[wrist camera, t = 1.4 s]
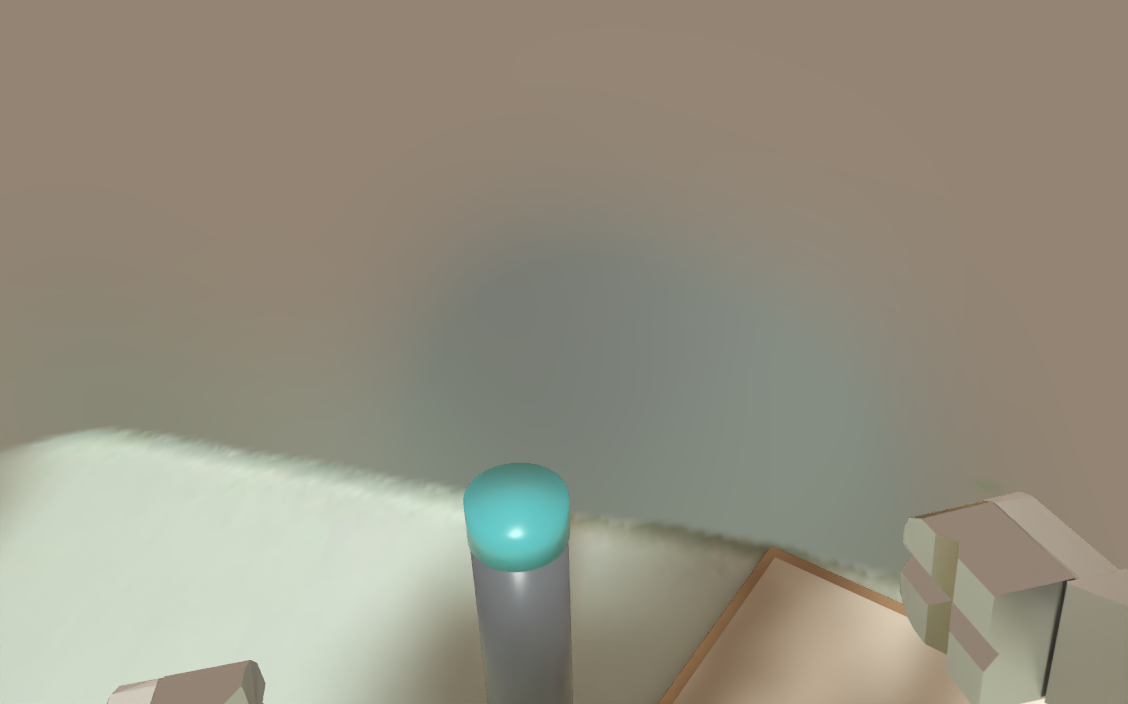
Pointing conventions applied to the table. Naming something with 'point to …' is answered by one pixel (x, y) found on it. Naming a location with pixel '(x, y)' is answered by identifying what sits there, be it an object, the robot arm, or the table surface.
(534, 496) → the marker
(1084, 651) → the robot arm
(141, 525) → the table surface
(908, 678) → the clipboard
